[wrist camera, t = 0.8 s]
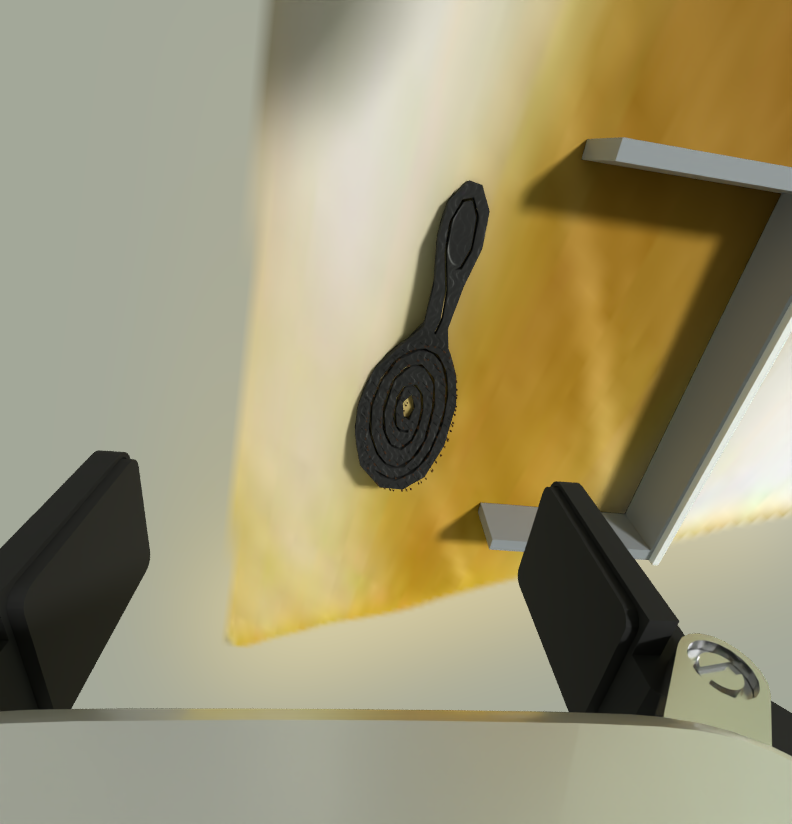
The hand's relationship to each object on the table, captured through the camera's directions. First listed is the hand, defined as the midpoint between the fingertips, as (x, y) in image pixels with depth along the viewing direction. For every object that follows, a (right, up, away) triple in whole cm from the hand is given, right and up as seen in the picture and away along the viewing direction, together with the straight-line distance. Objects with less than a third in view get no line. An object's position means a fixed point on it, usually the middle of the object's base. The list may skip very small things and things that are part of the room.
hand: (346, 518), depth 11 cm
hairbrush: (+3, +8, +28) cm, 29 cm away
